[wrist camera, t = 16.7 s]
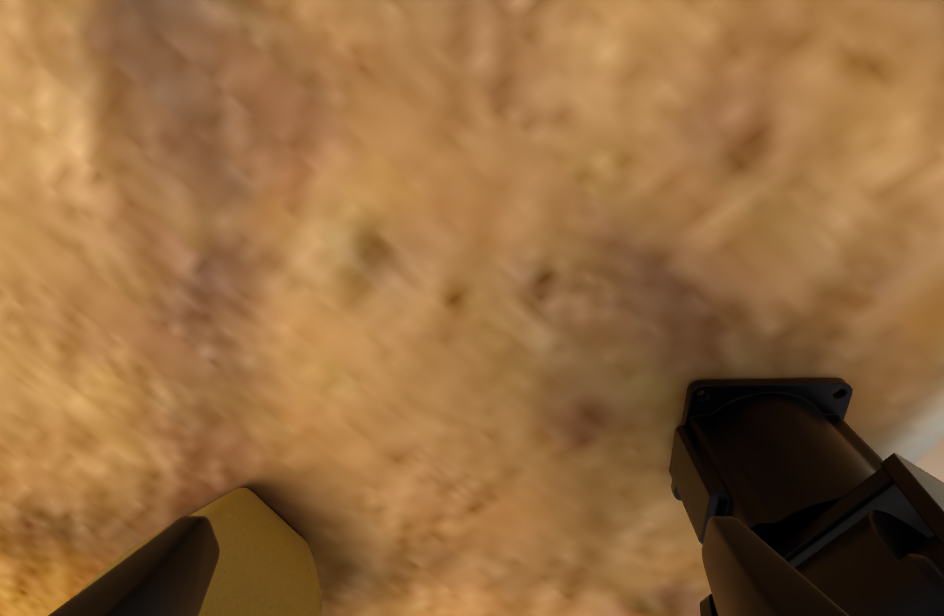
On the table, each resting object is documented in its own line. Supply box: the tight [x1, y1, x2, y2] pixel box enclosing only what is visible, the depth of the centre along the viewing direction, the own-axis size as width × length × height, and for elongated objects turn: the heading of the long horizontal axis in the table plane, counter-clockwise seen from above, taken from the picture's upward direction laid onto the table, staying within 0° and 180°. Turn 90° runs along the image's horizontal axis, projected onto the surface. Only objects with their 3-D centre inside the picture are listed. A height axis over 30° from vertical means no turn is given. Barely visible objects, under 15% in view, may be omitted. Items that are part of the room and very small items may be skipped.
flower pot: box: [79, 488, 321, 616], centre depth 23 cm, size 9×9×9 cm
